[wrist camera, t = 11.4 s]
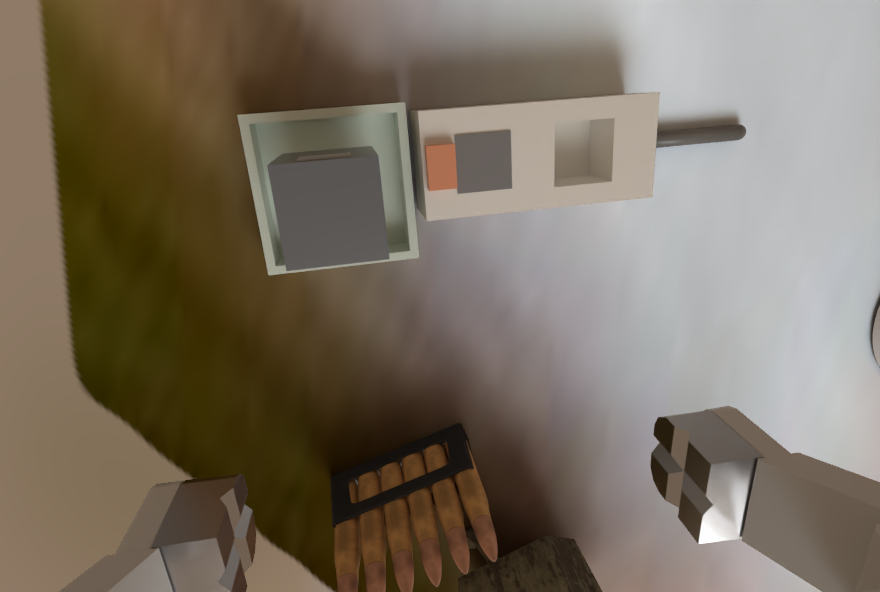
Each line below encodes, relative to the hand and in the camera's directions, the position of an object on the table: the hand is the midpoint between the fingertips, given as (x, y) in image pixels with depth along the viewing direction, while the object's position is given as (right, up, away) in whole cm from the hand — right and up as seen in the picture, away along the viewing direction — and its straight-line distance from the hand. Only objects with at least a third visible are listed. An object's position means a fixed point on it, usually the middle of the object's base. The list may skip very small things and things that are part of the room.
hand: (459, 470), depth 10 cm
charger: (-7, +10, +22) cm, 25 cm away
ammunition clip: (-3, -9, +30) cm, 32 cm away
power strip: (+9, +13, +24) cm, 29 cm away
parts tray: (-7, +10, +22) cm, 25 cm away
